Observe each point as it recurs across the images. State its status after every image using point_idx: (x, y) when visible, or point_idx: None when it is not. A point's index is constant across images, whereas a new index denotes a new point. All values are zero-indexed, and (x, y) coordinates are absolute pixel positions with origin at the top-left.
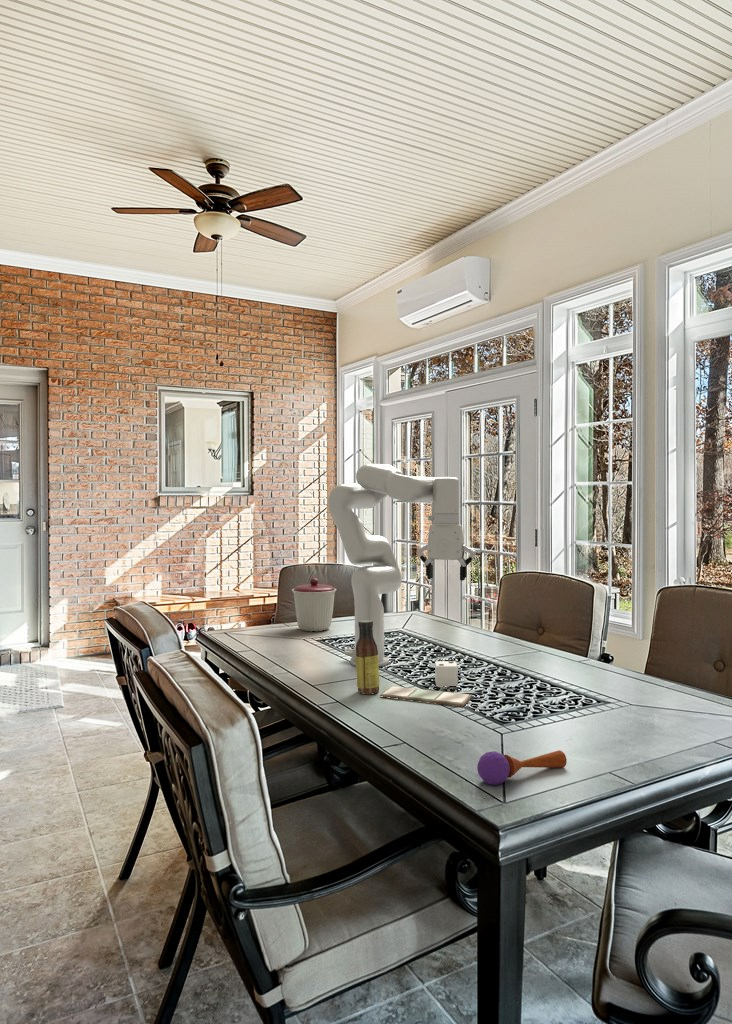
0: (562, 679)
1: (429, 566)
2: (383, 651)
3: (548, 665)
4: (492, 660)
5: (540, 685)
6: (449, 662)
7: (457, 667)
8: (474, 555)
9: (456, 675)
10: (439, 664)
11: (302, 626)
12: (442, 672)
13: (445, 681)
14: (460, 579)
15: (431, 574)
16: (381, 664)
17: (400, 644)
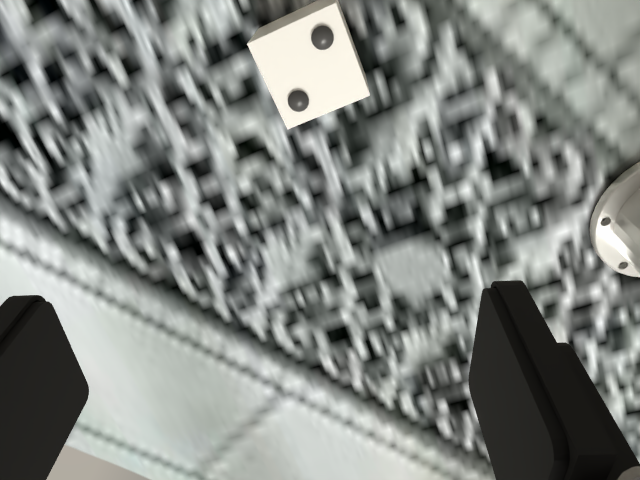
0: (7, 258)
1: (560, 443)
2: (631, 242)
3: (115, 371)
4: (274, 368)
5: (24, 170)
6: (301, 91)
7: (248, 42)
8: None
9: (256, 34)
10: (330, 34)
11: None
12: (310, 10)
13: (300, 11)
14: (35, 304)
15: (488, 382)
16: (614, 185)
17: None
